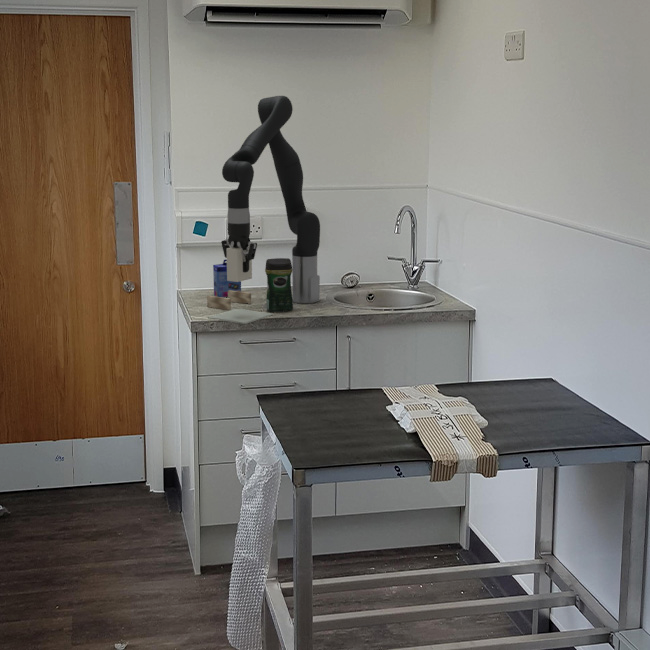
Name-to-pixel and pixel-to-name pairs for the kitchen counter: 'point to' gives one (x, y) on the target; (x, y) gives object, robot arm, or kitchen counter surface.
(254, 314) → the sage mat
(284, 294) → the coffee jar
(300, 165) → the robot arm
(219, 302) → the divider rack
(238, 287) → the ink cartridge box
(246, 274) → the block
